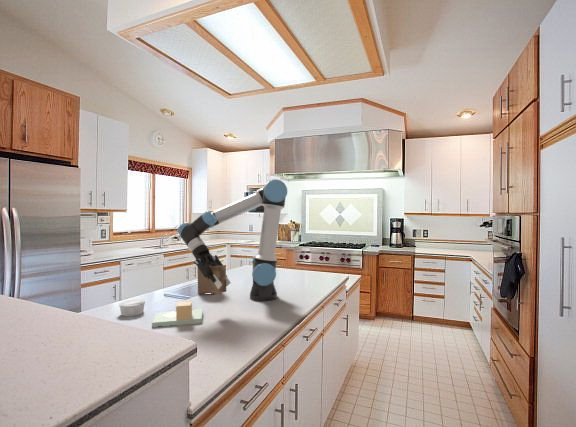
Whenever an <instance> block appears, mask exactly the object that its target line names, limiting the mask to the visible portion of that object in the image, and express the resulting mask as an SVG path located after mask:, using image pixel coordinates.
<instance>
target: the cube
mask: <svg viewBox="0 0 576 427" xmlns="http://www.w3.org/2000/svg"><path fill="white" fill-rule="evenodd" d="M175 309H176V310H175V311H176V320H188V319H191V317H192V310H193V301H183V302H181V301H180V302H177V303H176V306H175Z"/></svg>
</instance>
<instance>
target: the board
mask: <svg viewBox="0 0 576 427" xmlns="http://www.w3.org/2000/svg"><path fill="white" fill-rule="evenodd" d="M203 312H204V309H203V308H202V309H201V308H200V309H199V308H198V309H192V317H191V319H188V320H176V310H175V311H173V310H172V311H162V312H161V311H160V312H157V313H156V315H155V317H154V319H153V320H152V322H151V327H152V328H159V327H158V326H163V327H170V326H169V325H173V326H172V327H174V325H175V326H183V325H196V324H198V325H199V324H202V322H203V321H202V320H203V315H204V314H203Z"/></svg>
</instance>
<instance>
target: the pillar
mask: <svg viewBox="0 0 576 427" xmlns="http://www.w3.org/2000/svg"><path fill="white" fill-rule="evenodd" d="M210 269H211V271H212V273H213V274H215V275H216V277H217V278H218V280H219V281H220V282H221V284H222V286H221V287H220V288H219V289H218V288H217V287H216V285H215V284H214V283H213V282H212V281H211V293H214V294H222V293H225V292H227V290H228V289H227V286H226V275H227V267H226V265H223V266H221V265H217V266H212V267H210Z"/></svg>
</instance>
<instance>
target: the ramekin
mask: <svg viewBox="0 0 576 427" xmlns="http://www.w3.org/2000/svg"><path fill="white" fill-rule="evenodd" d="M145 304H146V300H144V299H129V300H124V301H122V302H120V303H119V310H120V314H121V315H122V316H123V317H133V316H139V315H141V314H143V312H144V310H145Z"/></svg>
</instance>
